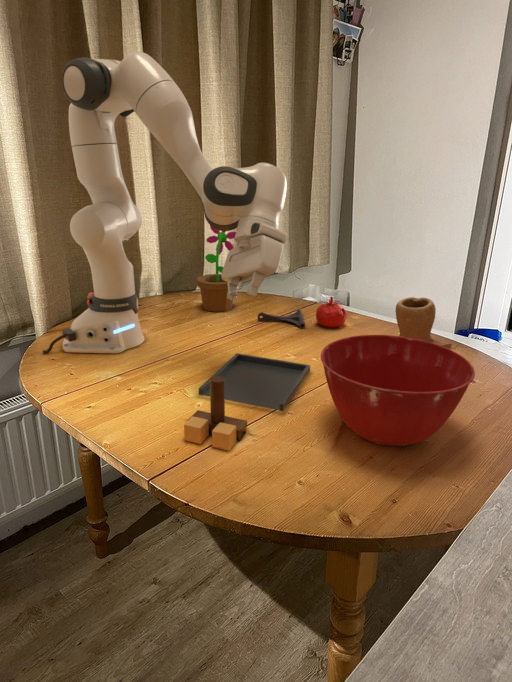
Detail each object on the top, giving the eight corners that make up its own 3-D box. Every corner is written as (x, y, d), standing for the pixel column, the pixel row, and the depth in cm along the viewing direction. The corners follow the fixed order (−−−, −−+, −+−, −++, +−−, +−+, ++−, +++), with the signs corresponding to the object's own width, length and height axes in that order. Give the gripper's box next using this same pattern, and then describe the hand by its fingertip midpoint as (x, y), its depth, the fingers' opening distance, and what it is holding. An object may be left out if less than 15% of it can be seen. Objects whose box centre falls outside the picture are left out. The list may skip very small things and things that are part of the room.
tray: (236, 361, 132) (236, 353, 131) (309, 373, 126) (310, 365, 125) (198, 397, 113) (198, 388, 112) (282, 414, 106) (283, 404, 106)
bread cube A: (220, 437, 98) (219, 422, 96) (236, 441, 96) (236, 425, 95) (212, 446, 95) (211, 430, 93) (229, 450, 93) (228, 434, 92)
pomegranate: (321, 331, 154) (322, 302, 151) (310, 321, 163) (311, 293, 160) (350, 329, 156) (353, 300, 153) (338, 319, 165) (340, 291, 162)
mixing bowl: (335, 386, 119) (340, 325, 113) (463, 410, 109) (475, 344, 103) (298, 448, 95) (302, 374, 89) (459, 486, 84) (474, 405, 79)
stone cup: (382, 349, 141) (388, 298, 135) (401, 338, 149) (407, 290, 144) (434, 364, 132) (443, 310, 126) (451, 351, 140) (460, 300, 134)
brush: (188, 430, 100) (186, 378, 96) (198, 420, 103) (196, 370, 99) (239, 441, 96) (239, 388, 92) (247, 431, 100) (247, 379, 96)
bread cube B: (193, 431, 100) (192, 416, 98) (208, 435, 98) (208, 419, 97) (184, 440, 97) (183, 424, 95) (200, 444, 95) (200, 428, 94)
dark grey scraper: (257, 313, 169) (257, 305, 168) (301, 314, 169) (301, 306, 168) (257, 328, 156) (257, 320, 155) (305, 328, 156) (305, 320, 155)
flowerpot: (244, 304, 179) (245, 219, 168) (226, 315, 167) (225, 224, 156) (209, 299, 184) (207, 216, 173) (189, 310, 172) (186, 221, 161)
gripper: (223, 240, 117) (208, 297, 115) (266, 221, 99) (250, 288, 97) (246, 250, 120) (232, 305, 118) (292, 233, 102) (276, 298, 100)
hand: (240, 297), depth 107 cm, fingers open, 8 cm apart
